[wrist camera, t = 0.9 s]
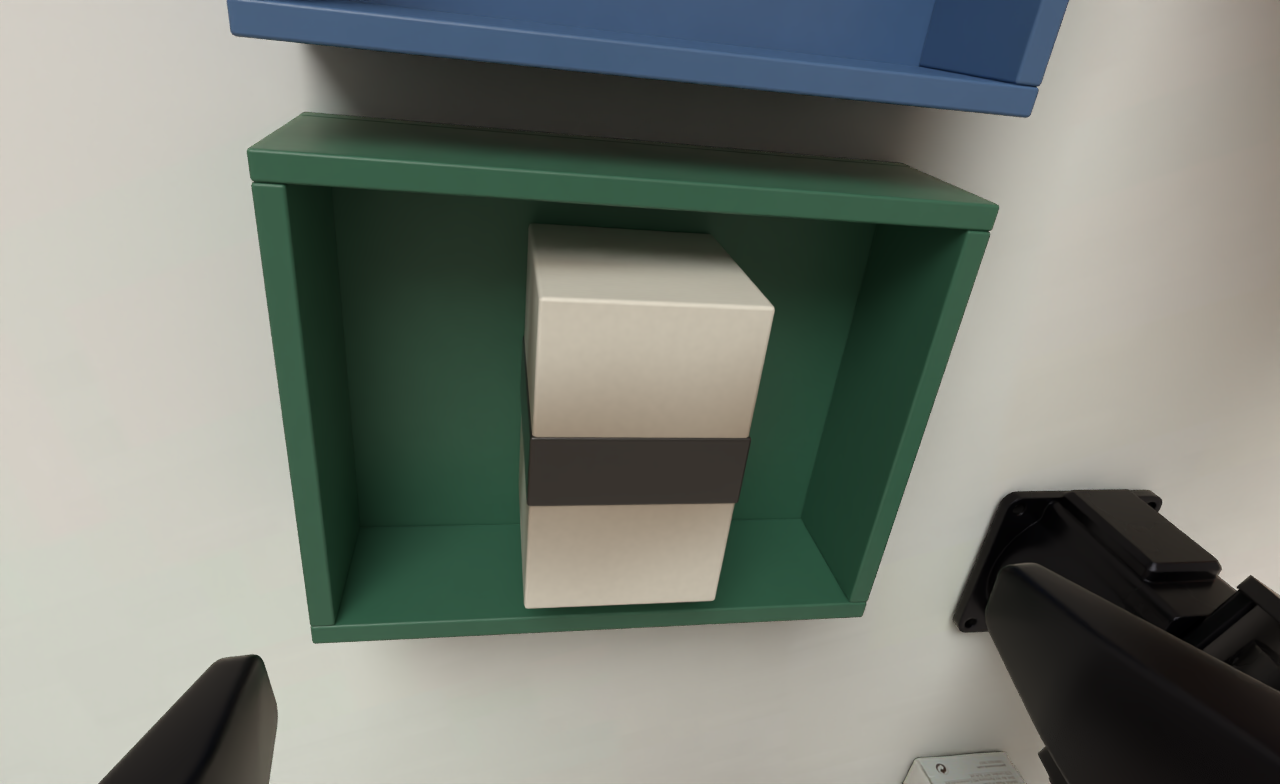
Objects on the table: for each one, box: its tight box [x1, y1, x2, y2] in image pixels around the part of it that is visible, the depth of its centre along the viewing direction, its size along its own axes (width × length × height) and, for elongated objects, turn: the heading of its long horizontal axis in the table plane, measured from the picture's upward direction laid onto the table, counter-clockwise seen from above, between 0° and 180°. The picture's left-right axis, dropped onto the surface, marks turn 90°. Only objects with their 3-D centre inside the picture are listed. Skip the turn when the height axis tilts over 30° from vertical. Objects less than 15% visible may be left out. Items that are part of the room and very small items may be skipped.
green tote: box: [247, 112, 999, 644], centre depth 19 cm, size 12×15×4 cm
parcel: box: [519, 223, 775, 609], centre depth 19 cm, size 8×5×5 cm, turn 174°
